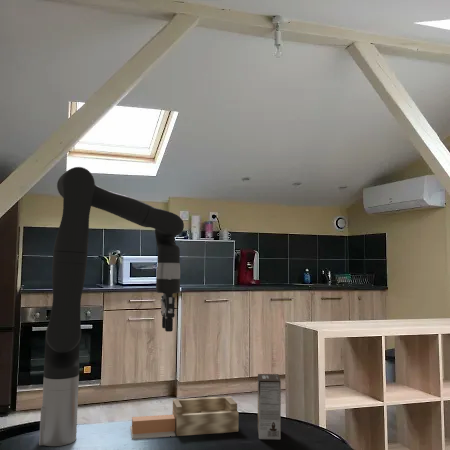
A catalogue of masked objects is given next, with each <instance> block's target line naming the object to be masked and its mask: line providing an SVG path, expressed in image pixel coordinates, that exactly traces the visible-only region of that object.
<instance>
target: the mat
mask: <svg viewBox="0 0 450 450" xmlns="http://www.w3.org/2000/svg"><path fill="white" fill-rule="evenodd" d="M129 429H130V435H131V440H139V439H140V440H141V439H143V440H144V439H155V438H167V437H170V436H171V437H176V432H175V431H169V432H156V433H142V434H132V425H131V426H130V427H129Z"/></svg>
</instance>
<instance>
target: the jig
mask: <svg viewBox="0 0 450 450" xmlns="http://www.w3.org/2000/svg"><path fill="white" fill-rule="evenodd" d="M239 414H240V413H239V411H238V402H237V401H235V400H234V399H233V398H232V397H231V396H230V395H229V396H213V397H212V396H210V397H196V398H195V397H193V398H176V399H175V398H174V399H172V414H171V415H174V417H175V431H174V433H175V436H177V437H179V436H180V437H183V436H195V435H209V434H224V433H225V434H226V433H236V432H239V419H240V416H239Z"/></svg>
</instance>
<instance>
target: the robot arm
mask: <svg viewBox="0 0 450 450" xmlns="http://www.w3.org/2000/svg"><path fill="white" fill-rule="evenodd" d="M56 184H57V185H56V189H57V192H58V194H59V195H60V197H62V199H63V200H62V201H63V205H62V207H63V209H62V215H61V216H62V217H61V219H60V224H59V227H58V230H57V233H56V237H55V240H54V245H53V252H52V253H53V254H52V264H51V268H52V269H51V279H52V280H51V282H52V305H51V311H50V317H49V320H48V321H49V322H48V325H47V328H46V330H45V344H44V345H45V346H44V359H43V360H44V362H43V380H42V381H43V387H42V400H41V401H42V402H41V403H42V405H41V407H40V416H39V417H40V419H39V438H38V440H39V441H38V445H39V446H47V447H62V446H66V445H70V444H72V443H74V442H75V441H76V440H77V432H78V429H77V427H78V411H79V409H78V408H79V407H78V405H79V385H80V382H79V381H80V349H81V348H80V346H81V344H80V342H81V338H82V327H81V326H82V323H81V319H82V318H81V304H82V303H81V301H82V295H83V290H84V285H85V281H86V280H85V279H86V275H87V273H86V271H87V265H88V255H89V253H88V252H89V233H90V232H89V231H90V213H91V209H92V208H91V207H93V208H95V209H99V210H102V211H105V212H107V213H110V214H112V215H114V216H117V217H119V218H121V219H124V220H127V221H129V222H131V223H133V224H136V225H138V226H141V227H143V228H151V229H154V234H155V235H154V237H155V240H156V247H157V264H156V274H155V276H156V278H155V291H156V293H157V294H162V295H161V297H160V304H161V305H160V313H161V320H162V322H161V328H162V329H164V331H165V332H167V333H168V332H169V333H170V332H173V329H174V324H173V323H174V320H173V319H174V318H175V317H176V314H175V311H176V310H175V309H176V307H175V305H176V301H175V300H176V297H174V295H173V294H179V293H180V292H181V263H180V262H181V257H180V256H181V251H180V247H179V245H177V244H176V236H179V235H180V234H181V233H182V232H183V231H184V229H185V223H184V221H183V218H182V217H180V216H179V215H178V214H176V213H174V212H171V211H168V210H164V209H161V208H159V207H158V208H157V207H154V206H152V205H151V204H149V203H145V202H143V201H141V200H139V199H137V198H134V197H132V196H128V195H124V194H120V193H116V192H113V191H109V190H107V189H105V188H102V187H100V186H98V185H97V184H96V181H95V178H94V176H93V174H92V173H91V172H90V171H89V169H88V168H85V167H83V166H75V167H72V168H70V169H68V170H67V171H65V172H64V173H63V174H61V175H60V176H59V178H58V180H57V183H56Z"/></svg>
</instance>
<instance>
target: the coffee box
mask: <svg viewBox="0 0 450 450" xmlns="http://www.w3.org/2000/svg"><path fill="white" fill-rule="evenodd" d="M281 382H282V380H281V378H280V375H279V373H257V432H258V439H259V440H281V438H282V437H281V436H282V435H281V432H282V431H281V430H282V429H281V428H282V427H281V426H282V424H281V421H282V420H281V415H282V414H281V412H282V410H281V409H282V407H281V406H282V405H281V404H282V403H281V402H282V399H281V398H282V397H281V395H282V393H281V392H282V388H281V387H282V383H281Z"/></svg>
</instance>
